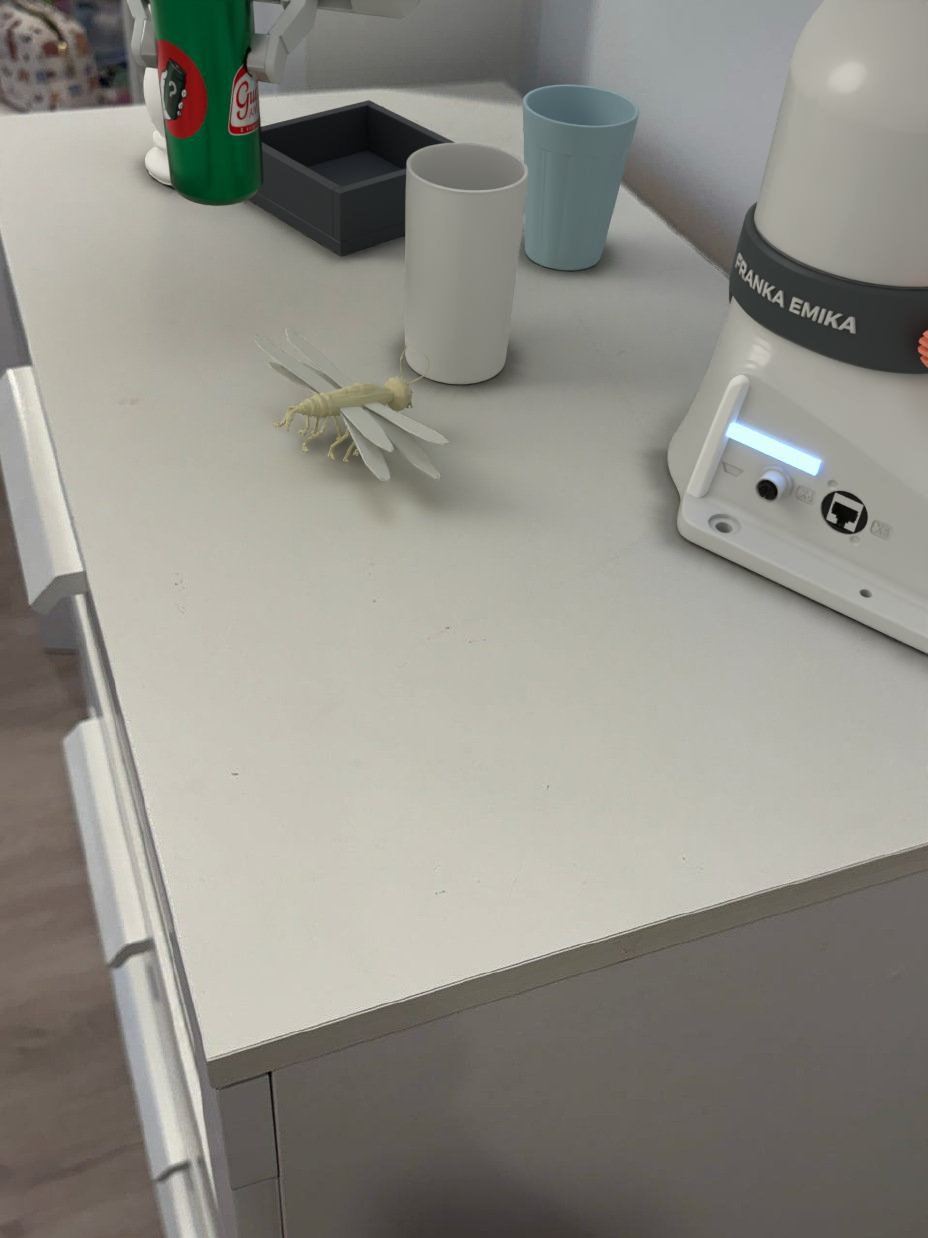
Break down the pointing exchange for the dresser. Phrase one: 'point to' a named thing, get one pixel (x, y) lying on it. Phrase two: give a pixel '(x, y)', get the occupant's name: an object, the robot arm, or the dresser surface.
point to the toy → (353, 407)
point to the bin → (341, 173)
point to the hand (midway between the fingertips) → (206, 70)
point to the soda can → (209, 98)
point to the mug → (461, 258)
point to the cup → (573, 170)
